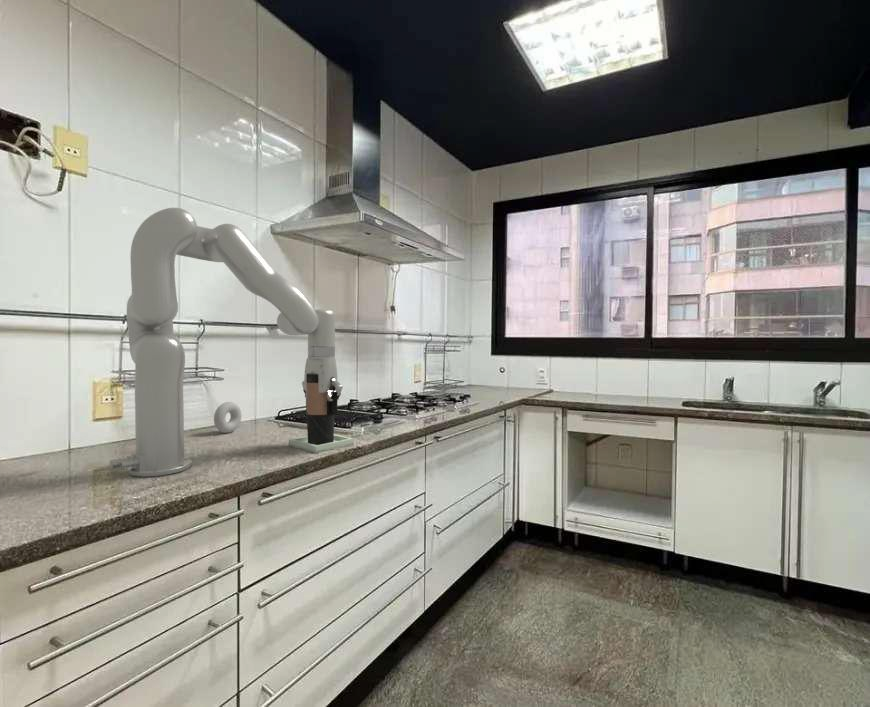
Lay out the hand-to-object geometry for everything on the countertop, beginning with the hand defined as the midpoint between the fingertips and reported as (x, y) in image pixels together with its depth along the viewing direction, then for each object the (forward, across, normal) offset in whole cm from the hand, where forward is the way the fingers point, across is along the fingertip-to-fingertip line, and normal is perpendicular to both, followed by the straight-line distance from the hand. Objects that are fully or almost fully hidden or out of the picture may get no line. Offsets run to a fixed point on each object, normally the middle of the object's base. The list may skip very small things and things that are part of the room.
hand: (321, 412), depth 129 cm
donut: (+10, -37, -9) cm, 39 cm away
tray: (+9, 0, 0) cm, 9 cm away
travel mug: (+9, 0, 0) cm, 9 cm away
